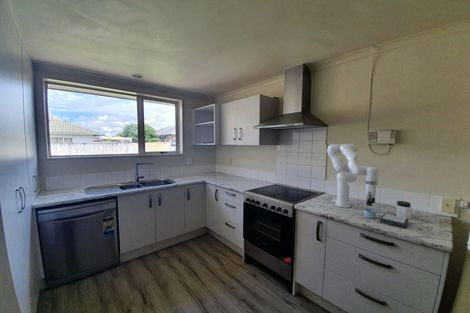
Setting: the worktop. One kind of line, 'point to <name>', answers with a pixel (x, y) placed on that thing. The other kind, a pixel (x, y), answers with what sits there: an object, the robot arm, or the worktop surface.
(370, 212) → the bowl
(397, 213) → the jar
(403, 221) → the scale
